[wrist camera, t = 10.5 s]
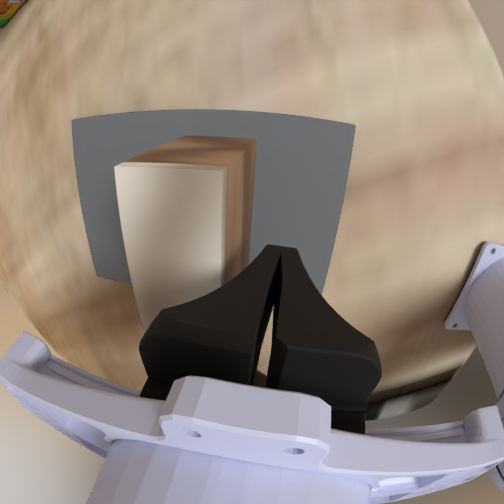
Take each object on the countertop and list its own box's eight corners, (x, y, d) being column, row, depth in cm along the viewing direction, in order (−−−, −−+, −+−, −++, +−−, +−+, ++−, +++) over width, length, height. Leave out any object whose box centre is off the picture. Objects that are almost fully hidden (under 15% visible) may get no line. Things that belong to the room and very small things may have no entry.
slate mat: (354, 125, 13) (355, 125, 13) (315, 312, 20) (315, 316, 20) (75, 119, 15) (71, 120, 15) (99, 273, 22) (97, 275, 22)
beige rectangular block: (257, 139, 14) (222, 171, 8) (248, 265, 18) (221, 348, 13) (186, 135, 15) (114, 166, 9) (189, 256, 19) (143, 329, 13)
